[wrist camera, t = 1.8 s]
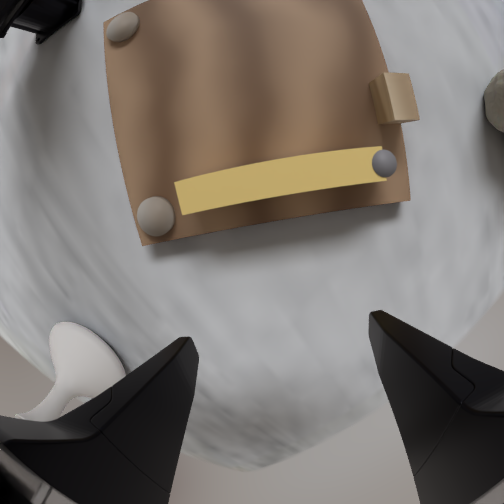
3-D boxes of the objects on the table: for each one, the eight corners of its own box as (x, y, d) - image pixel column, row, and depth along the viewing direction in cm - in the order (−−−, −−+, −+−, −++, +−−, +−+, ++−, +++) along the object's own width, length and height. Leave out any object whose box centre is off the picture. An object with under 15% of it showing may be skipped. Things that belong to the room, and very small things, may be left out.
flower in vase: (83, 381, 29) (4, 506, 6) (45, 313, 26) (-71, 439, 2) (158, 392, 28) (86, 568, 4) (119, 313, 24) (-23, 517, 1)
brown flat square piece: (151, 239, 21) (124, 259, 17) (112, 28, 15) (85, 12, 10) (401, 196, 18) (429, 208, 14) (341, -24, 12) (351, -51, 8)
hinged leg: (378, 146, 15) (394, 145, 13) (382, 175, 16) (398, 179, 14) (187, 178, 17) (173, 182, 15) (194, 207, 18) (182, 215, 15)
